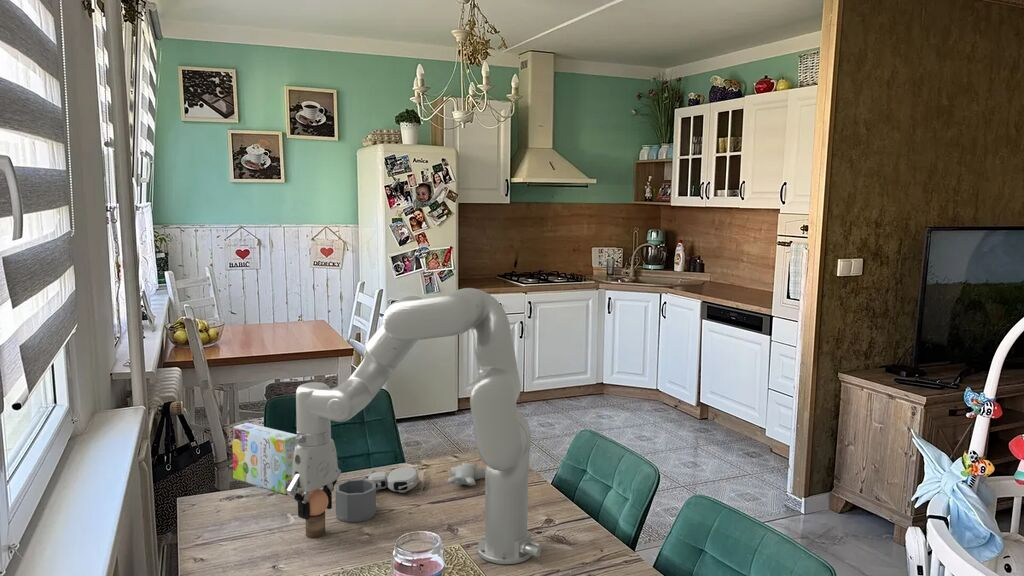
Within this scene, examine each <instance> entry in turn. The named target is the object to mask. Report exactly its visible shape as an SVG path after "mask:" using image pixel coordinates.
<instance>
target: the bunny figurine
mask: <svg viewBox="0 0 1024 576" xmlns="http://www.w3.org/2000/svg"><path fill="white" fill-rule="evenodd" d="M450 476H451V477H448V479H447V481H446V484H454V483H455V485H459V487H461V486H463V485H465V486H467V487H471V486H476V485H477V483H476V480H479V479H483V478H485V469H484V468H481V467H478V464H477V463H469V462H462V463H461V465H460V464H459V465H456V466H453V467H452V466H451V467H450Z"/></svg>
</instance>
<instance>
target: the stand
mask: <svg viewBox="0 0 1024 576" xmlns="http://www.w3.org/2000/svg"><path fill="white" fill-rule="evenodd" d="M304 520H305V536H306V537H307V538H310V539H318V538H321V537H323V536H325V534H326V510H325V511H324V512H323V513H322V514H320V515H317V516H311V515H310V518H309V519H308V520H306V519H304Z"/></svg>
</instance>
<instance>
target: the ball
mask: <svg viewBox="0 0 1024 576" xmlns="http://www.w3.org/2000/svg"><path fill="white" fill-rule="evenodd" d="M307 502H309V504H310V515H311V516H317V515H320V514H322V513H323V512H324V511H325V512H326V510H327V506H328V496H327V494H326V493H325V492H324V491H323V489H321V488H318V489H316V490H313V491H310V493H309V496H308V500H307Z"/></svg>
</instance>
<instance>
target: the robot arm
mask: <svg viewBox="0 0 1024 576" xmlns="http://www.w3.org/2000/svg"><path fill="white" fill-rule="evenodd" d="M511 329H512V328H511V324H510V321H509V318H508V314H507V313H506V311H505V309H504V307H503V306H502V304H501V303H500V302H499V301H498V300H497V298H495V296H492V295H491V294H490V293H488V292H486V291H483V290H481V289H477V288H473V287H464V288H460V289H457V290H455V291H453V292H450V293H449V294H447V295H441V296H439V295H438V296H433V297H425V298H423V297H421V296H417V295H409V296H406V297H403V298H400V299H398V300H396V301H394V302H391V304H390V305H389V306H387V308H386V310H385V311H384V314H383V317H382V323H381V324H380V326H379V327H378V329H377V330H376V331H375V332H374V333H373V335H371V337H370V339H369V340H368V341H367V342H366V344H365V351H366V353H365V355H364V358H363V360H362V361H361V362H360V364H359V365H358V366H357V367H356V369H355V370H354V371H353V373H352V374H351V375H350V377H349V378H348V379H347V380H346V381H344V382H343V383H341V384H339V385H338V386H335V387H334V388H330V386H329V384H327V383H324V382H319V381H317V382H316V381H315V382H305V383H303V384H300V385H298V386H297V388H296V390H295V391H296V392H295V410H296V411H295V413H296V414H295V415H296V420H295V421H296V435H297V438H295V439H294V443H295V444H297V445H296V446H295V451H294V457H293V469H292V482H291V483H290V485H289V487H288V488H287V490H286V493H287V494H286V495H288V496H290V497H291V498H292V499H293V500H294V501H296V502H297V516H298V518H300V519H303V520H305V519H306V520H308V519H309V518H310V504H309V502H307V500H308V496H309V493H310V491H313V490H316V489H321V488H322V489H321V490H323V491H324V492H325V493H326V494H327V496H328V506H327V508H326V510H331V509H332V507H333V499H332V498H333V497H332V495H333V494H332V493H333V492H334V490H335V486H336V485H337V484H336V483H337V481H338V479H339V478H340V475H341V474H342V470H341V469H340V468H339V465H338V454H337V449H336V445H335V442H334V441H335V440H334V439H333V438H332V427H331V425H332V424H331V421H333V422H336V423H337V422H338V423H342V422H346V421H349V420H350V419H352V418H353V417H355V416H356V415H357V414H358V413H360V412H361V411H362V410H364V409H365V408H366V407H367V406H369V404H370V403H371V402H372V400H373V399H374V398H375V397H376V395H377V394H378V393H379V392H380V390H381V389H382V388H383V386H384V385H385V384H386V383H387V381H388V380H389V379H390V377H391V376H392V374H394V372H395V371H396V369H397V368H398V367H399V365H400V364H401V362H402V361H403V360H404V359H405V358H406V357H407V355H408V354H409V352H410V351H411V350H412V349H413V347H414V346H415V345H416V344H417V342H418V341H419V340H429V339H436V338H437V339H438V338H444V337H446V338H447V337H453V336H459V335H462V334H464V333H466V332H468V331H471V332H472V335H473V349H474V354H475V355H474V356H475V358H476V359H475V361H476V366H477V367H476V368H477V378H476V379H475V381H474V382H473V384H472V386H471V389H470V395H469V404H470V405H469V406H470V412H471V418H472V424H473V431H474V437H475V443H476V449H477V453H478V455H479V458H480V459H481V461H482V462H483V463H484V464H485V472H484V479H485V482H484V485H485V486H484V537H483V538H482V539H481V540H480V541H479V542H478V543H477V554H478V555H479V556H480V557H481V558H482V559H483V560H485V561H487V562H489V563H493V564H499V565H515V564H521V563H523V562H526V561H527V560H529V559H530V558H531V557H532V556H533V557H535V558H536V557H538V558H539V557H540V555H541V554H542V545H543V544H542V543H541V542H539V541H534V540H533V537H532V536H533V535H532V534H533V533H532V531H531V532H530V531H528V518H529V516H528V514H529V513H528V511H529V478H530V477H529V476H530V474H529V473H530V456H531V455H530V454H531V443H532V442H531V441H532V440H531V439H532V438H531V437H532V434H531V427H530V424H529V422H528V421H527V418H525V416H524V415H523V414H521V413H520V412H518V406H517V401H518V399H519V397H520V394H521V390H522V386H521V379H520V375H519V374H520V373H519V369H518V363H517V358H516V351H515V347H514V342H513V335H512V330H511ZM296 488H298V489H297V490H296Z"/></svg>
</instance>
